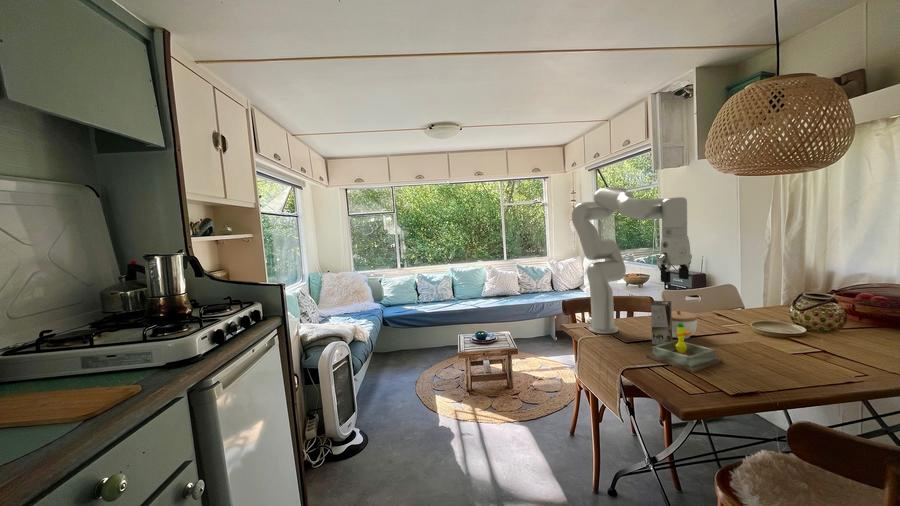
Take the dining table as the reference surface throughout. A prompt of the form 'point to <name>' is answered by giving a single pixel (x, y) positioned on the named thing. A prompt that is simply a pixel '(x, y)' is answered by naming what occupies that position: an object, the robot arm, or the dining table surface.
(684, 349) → the toy figure
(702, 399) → the dining table surface
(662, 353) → the tray
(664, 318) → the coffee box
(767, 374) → the dining table surface
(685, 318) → the lidded bowl
